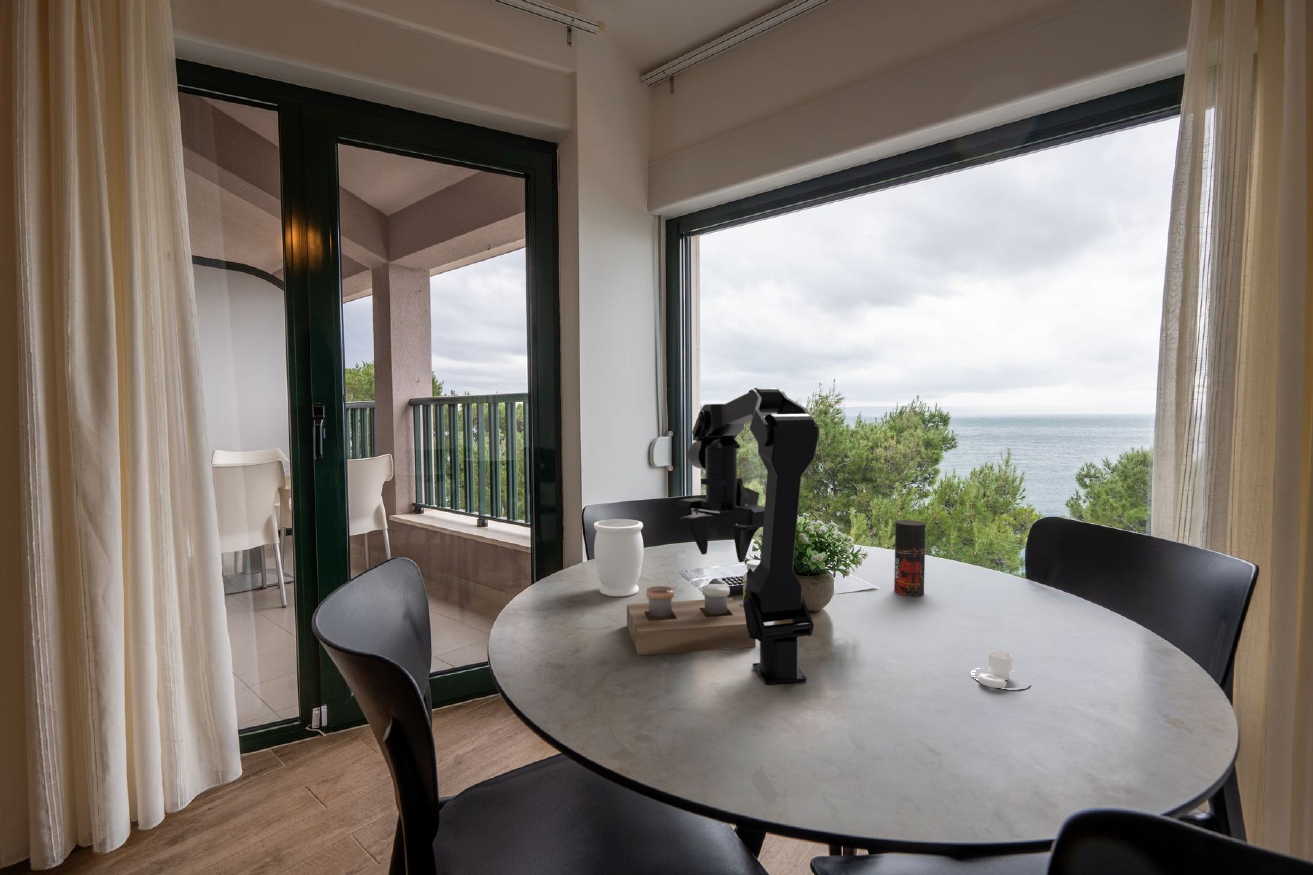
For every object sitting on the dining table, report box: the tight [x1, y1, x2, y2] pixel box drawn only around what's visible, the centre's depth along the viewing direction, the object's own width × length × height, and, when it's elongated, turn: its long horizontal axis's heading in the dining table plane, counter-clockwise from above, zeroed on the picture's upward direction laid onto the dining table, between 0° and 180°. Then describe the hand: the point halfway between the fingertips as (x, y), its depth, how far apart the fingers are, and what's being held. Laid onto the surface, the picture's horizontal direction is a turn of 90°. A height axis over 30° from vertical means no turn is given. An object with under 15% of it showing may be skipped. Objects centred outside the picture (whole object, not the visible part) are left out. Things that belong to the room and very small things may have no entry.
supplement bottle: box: [742, 559, 761, 610], centre depth 126 cm, size 5×5×10 cm
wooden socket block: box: [626, 597, 757, 656], centre depth 114 cm, size 14×20×4 cm
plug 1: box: [645, 585, 675, 616], centre depth 113 cm, size 5×5×4 cm
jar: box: [593, 518, 644, 598], centre depth 139 cm, size 11×10×15 cm
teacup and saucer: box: [970, 649, 1014, 689], centre depth 96 cm, size 9×8×4 cm
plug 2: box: [701, 583, 731, 614], centre depth 114 cm, size 5×5×4 cm
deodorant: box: [893, 519, 927, 597], centre depth 138 cm, size 6×6×15 cm
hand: (722, 557), depth 118 cm, fingers open, 9 cm apart
